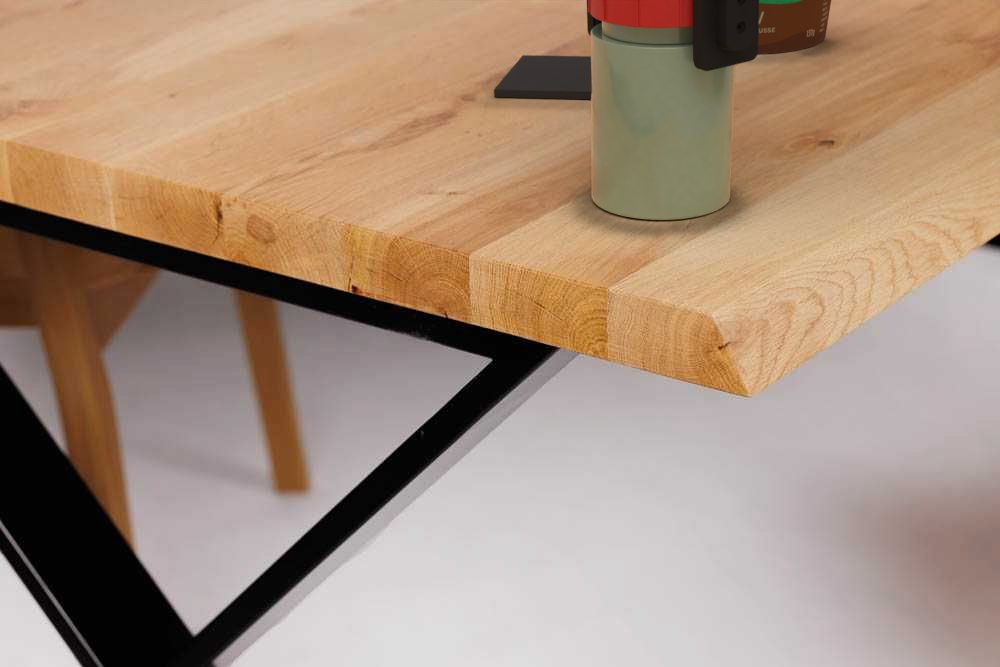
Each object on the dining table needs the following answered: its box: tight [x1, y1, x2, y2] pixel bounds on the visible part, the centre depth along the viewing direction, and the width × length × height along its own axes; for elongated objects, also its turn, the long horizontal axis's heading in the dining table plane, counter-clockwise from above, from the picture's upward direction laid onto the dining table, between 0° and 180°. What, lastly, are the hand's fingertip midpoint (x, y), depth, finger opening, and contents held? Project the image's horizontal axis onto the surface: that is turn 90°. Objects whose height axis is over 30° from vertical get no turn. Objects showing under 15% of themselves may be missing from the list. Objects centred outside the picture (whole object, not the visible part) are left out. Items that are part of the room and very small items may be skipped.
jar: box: [590, 21, 736, 221], centre depth 67 cm, size 7×7×10 cm
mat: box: [493, 54, 591, 100], centre depth 88 cm, size 8×8×1 cm
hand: (669, 45), depth 66 cm, fingers closed on lid, 7 cm apart
